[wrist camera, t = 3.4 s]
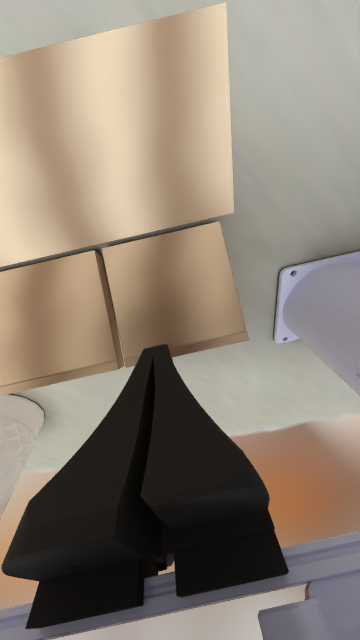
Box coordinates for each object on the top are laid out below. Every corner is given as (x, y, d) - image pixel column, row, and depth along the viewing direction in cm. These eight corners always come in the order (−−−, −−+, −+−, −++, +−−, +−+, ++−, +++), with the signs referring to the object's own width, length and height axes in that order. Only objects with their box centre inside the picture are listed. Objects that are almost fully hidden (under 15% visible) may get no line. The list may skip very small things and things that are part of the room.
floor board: (218, 24, 9) (226, 2, 8) (228, 211, 13) (234, 212, 12) (-140, 111, 9) (-176, 100, 8) (-19, 269, 14) (-33, 274, 13)
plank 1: (102, 257, 14) (93, 249, 13) (124, 365, 13) (118, 369, 12) (-5, 281, 14) (-23, 276, 13) (14, 390, 14) (-3, 396, 12)
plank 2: (216, 230, 14) (219, 220, 12) (242, 339, 13) (248, 340, 12) (108, 255, 14) (101, 248, 13) (131, 364, 13) (126, 367, 12)
